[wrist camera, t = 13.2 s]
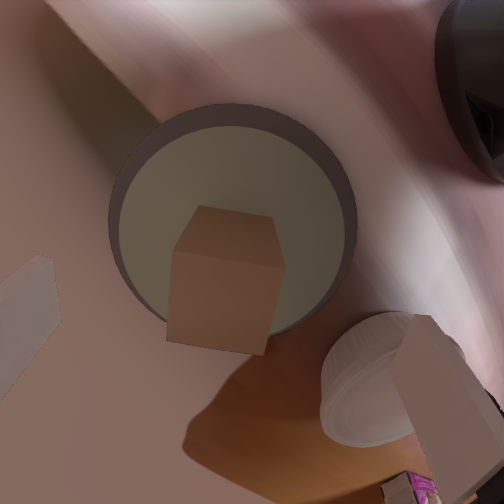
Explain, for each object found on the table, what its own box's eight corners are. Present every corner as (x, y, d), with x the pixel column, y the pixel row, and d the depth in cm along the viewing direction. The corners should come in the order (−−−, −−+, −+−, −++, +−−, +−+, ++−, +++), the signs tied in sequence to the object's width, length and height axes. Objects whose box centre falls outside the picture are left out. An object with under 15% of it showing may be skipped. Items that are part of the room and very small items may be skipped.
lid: (134, 113, 16) (67, 110, 9) (364, 153, 17) (431, 174, 10) (122, 314, 20) (82, 387, 14) (309, 343, 22) (330, 425, 15)
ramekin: (456, 302, 22) (491, 339, 17) (405, 400, 26) (424, 440, 21) (333, 290, 21) (355, 337, 16) (295, 402, 25) (303, 451, 20)
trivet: (124, 93, 16) (119, 92, 15) (377, 135, 17) (382, 135, 16) (114, 315, 21) (110, 321, 21) (318, 345, 23) (320, 352, 22)
